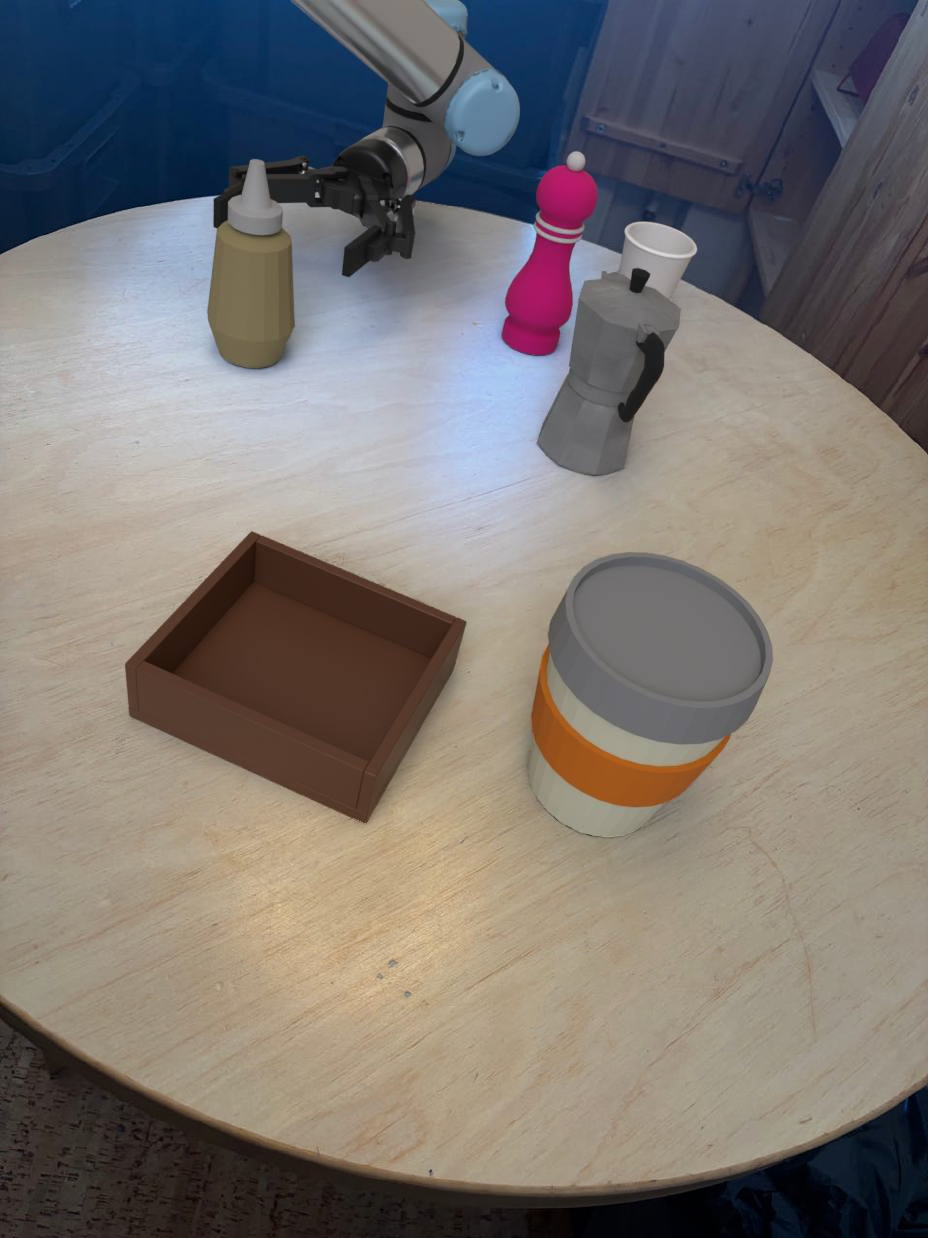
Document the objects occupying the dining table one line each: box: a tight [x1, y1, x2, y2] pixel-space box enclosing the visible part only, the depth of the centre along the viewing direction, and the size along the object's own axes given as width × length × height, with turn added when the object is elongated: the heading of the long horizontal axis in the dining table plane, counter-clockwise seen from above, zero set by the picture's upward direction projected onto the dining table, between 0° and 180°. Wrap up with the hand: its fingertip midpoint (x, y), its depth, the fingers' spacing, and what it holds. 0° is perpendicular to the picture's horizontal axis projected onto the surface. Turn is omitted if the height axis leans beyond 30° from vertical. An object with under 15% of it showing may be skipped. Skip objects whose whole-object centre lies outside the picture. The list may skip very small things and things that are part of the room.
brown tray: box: [124, 530, 467, 824], centre depth 62 cm, size 17×15×5 cm
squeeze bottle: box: [206, 158, 296, 369], centre depth 86 cm, size 8×8×18 cm
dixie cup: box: [618, 221, 698, 301], centre depth 109 cm, size 8×8×10 cm
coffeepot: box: [536, 268, 682, 476], centre depth 84 cm, size 15×9×18 cm, turn 10°
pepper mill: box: [501, 151, 599, 356], centre depth 97 cm, size 7×7×20 cm
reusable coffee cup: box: [527, 551, 774, 836], centre depth 58 cm, size 13×12×15 cm
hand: (280, 238), depth 88 cm, fingers open, 13 cm apart
